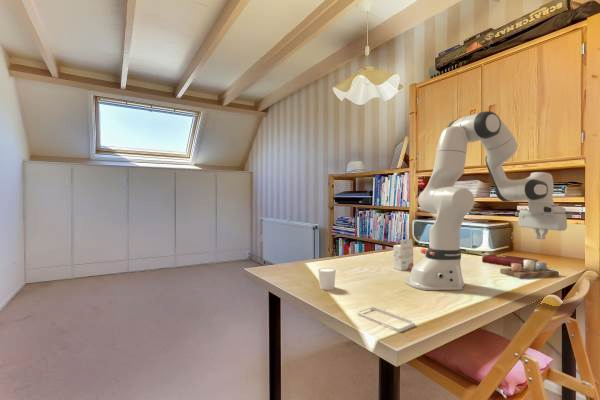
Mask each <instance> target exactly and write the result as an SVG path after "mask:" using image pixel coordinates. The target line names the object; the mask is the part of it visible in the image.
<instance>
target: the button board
mask: <svg viewBox="0 0 600 400" xmlns="http://www.w3.org/2000/svg"><path fill="white" fill-rule="evenodd" d="M499 271H500V274H503V275H505V276H510V277H513V278H516V279H521V280H522V279H535V278H549V277H550V278H551V277H553V278H554V277H560V271H559V270H558V271H557V270H553V269H549V268H547V271H541V270H536V267H534V271H525V270H524V267H522V272H514V271H511V267H508V268H507V267H506V268H500V269H499Z"/></svg>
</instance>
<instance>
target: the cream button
mask: <svg viewBox="0 0 600 400" xmlns="http://www.w3.org/2000/svg"><path fill="white" fill-rule="evenodd" d="M524 270H525V271H534V261H533V260H524Z"/></svg>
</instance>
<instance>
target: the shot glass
mask: <svg viewBox="0 0 600 400" xmlns="http://www.w3.org/2000/svg"><path fill="white" fill-rule="evenodd" d="M336 271H337V270H336V269H334V268H329V267H323V268H319V269H318V270H317V272H318V283H319V289H320V290H323V291H324V290H326V291H330V290H334V289H335V284H336V283H335V282H336Z"/></svg>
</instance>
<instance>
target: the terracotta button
mask: <svg viewBox="0 0 600 400" xmlns="http://www.w3.org/2000/svg"><path fill="white" fill-rule="evenodd" d="M510 268H511V271H514V272H522V264H518V263H511V267H510Z"/></svg>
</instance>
